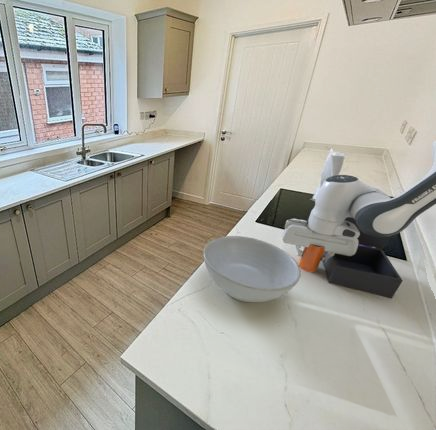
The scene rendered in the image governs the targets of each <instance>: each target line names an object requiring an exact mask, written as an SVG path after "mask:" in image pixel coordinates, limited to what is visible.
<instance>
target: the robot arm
mask: <svg viewBox="0 0 436 430" xmlns="http://www.w3.org/2000/svg"><path fill="white" fill-rule="evenodd" d="M430 152H431V153H430V154H431V158H432V166H431V168H430V170H429V171H428V172H427V174H426V175H424V176H423V177H422V178H420V179H419V180H418V181H416V182H415V183H413V184H412V185H410V186H409V187H407V188H406V189H405V190H403V191H402V192H401V193H399V194H397V195H396V196H393V197H394V198H390V197H389V196H390V195H388V194H387V193H386V192H385V191H383V190H381V189H378V188H376V187H373V186H369V185H367V184H366V183H364V182H363V181H361V179H359V178H358V177H356V176H354V175H349V174H339V175H335V176H331V177H329V178H327V179H326V180H325V181H324V183H323V184H322V186H321V188H320V190H319V192H318V194H317V197H316V200H315V202H314V206H313V208H312V209H311V212H310V214H309V216H308V219H307V220H305V219H297V218H290V219H289V218H288V219H287V220H286V221H285V224H284V230H283V232H282V235H281V240H282V242H283V243H284V244H289V245H293V246H295V249H296V254H295V255H296V257H299V258H300V257H302V254H303V249H302V247H303V248H304V247H309V245H310V244H312V245H317V246H322V247H325V249H324V251H327V252H328V253H327V254H326V255H323V256H322V259H321V261H320V262H322V261H323V262H327V260H328V258H330V257H332V256H334V254H335V253H337V254H342V255H347V256H352V255H354V254H355V253H356V250H357V248H358V245H359V244H358V243H359V241H358V239H357V238H358V237H359V235H360V232H359V230H358V228H359V229H360V230H361V231H362V232H363V233H365V234H367V235H370V236H374V237H387V236H390V237H391V236H395V235H398V234H399V233H402V232H403V231H404V230H405V229H407V228H408V227H409V226H410V225H411V223H412V222H413V221H414V220H415V219H416V218H418V217H419V216H420V215H421V214H423V213H424V212H426V211H427V210H429V209H430V208H432V207H433V206H435V205H436V139H435V140H434V141H433V143H432V146H431V149H430ZM347 217H352V218H354V219H355V221H356V223H357V225H358V228H357V227H356V226H355V225H354V224H353V223H350V222H348V221H346V220H345V219H346V218H347ZM323 262H322V263H323Z"/></svg>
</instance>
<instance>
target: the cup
mask: <svg viewBox="0 0 436 430" xmlns="http://www.w3.org/2000/svg"><path fill="white" fill-rule="evenodd" d="M324 249H325V247H322V246H317V245H312V244H310V245H309V247H303V249H302V251H303V254H302V257H300V256H299V259H298V260H299V261H298V262H297V264H298V266H299V268H300V270H302V271H305V272H309V273H315V272H317V271H318V268H319V266H320V264H321V262H322V261H321V259H322V256H323V254H324Z"/></svg>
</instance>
